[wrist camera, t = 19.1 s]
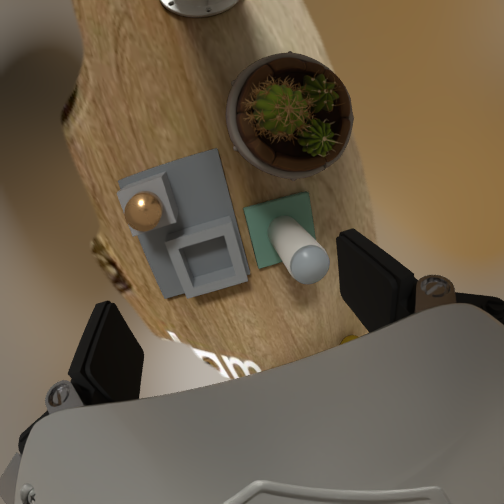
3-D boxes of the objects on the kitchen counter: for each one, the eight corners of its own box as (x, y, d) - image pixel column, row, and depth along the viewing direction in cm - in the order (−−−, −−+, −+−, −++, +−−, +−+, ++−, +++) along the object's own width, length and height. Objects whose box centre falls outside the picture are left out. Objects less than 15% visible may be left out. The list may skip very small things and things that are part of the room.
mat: (243, 207, 41) (244, 209, 40) (306, 191, 41) (308, 192, 40) (257, 265, 45) (258, 268, 44) (314, 248, 46) (317, 251, 45)
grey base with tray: (119, 179, 35) (107, 188, 30) (216, 148, 36) (220, 150, 31) (165, 295, 44) (162, 317, 39) (249, 271, 45) (256, 290, 40)
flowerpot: (322, 77, 34) (411, 52, 16) (313, 173, 40) (395, 210, 23) (224, 63, 31) (251, 3, 13) (216, 167, 37) (234, 200, 20)
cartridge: (264, 219, 41) (287, 252, 30) (296, 212, 41) (329, 241, 31) (270, 249, 43) (293, 290, 32) (300, 242, 44) (332, 279, 33)
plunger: (131, 190, 34) (119, 201, 29) (161, 179, 35) (154, 189, 29) (141, 219, 36) (132, 236, 31) (170, 209, 37) (166, 225, 31)
